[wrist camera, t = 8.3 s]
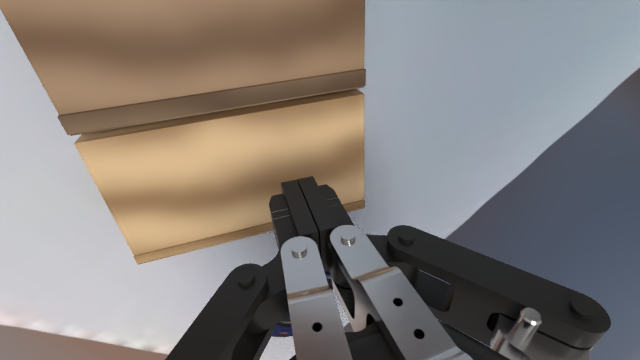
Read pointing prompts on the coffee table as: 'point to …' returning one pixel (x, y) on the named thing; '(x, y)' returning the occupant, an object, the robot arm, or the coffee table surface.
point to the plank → (223, 169)
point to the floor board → (185, 55)
